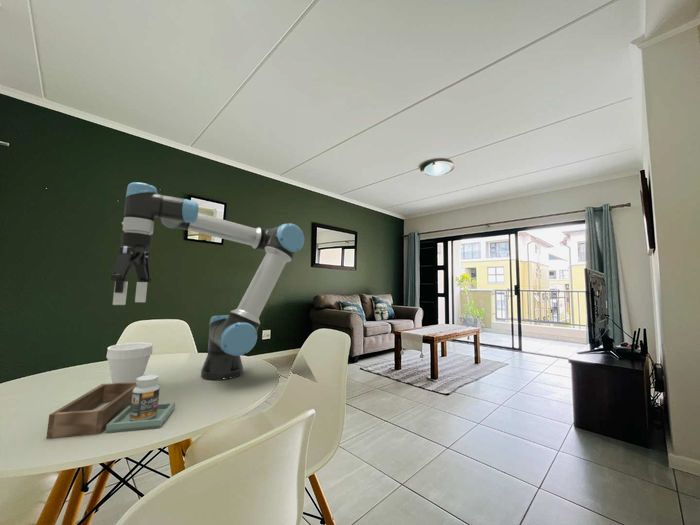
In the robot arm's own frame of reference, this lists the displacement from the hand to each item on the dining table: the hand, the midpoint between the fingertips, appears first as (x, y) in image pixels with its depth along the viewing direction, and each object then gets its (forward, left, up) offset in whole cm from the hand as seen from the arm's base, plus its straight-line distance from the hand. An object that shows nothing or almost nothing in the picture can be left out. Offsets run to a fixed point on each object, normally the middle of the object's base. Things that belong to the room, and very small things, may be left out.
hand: (130, 303), depth 84 cm
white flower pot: (+4, -14, -29) cm, 32 cm away
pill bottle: (-10, +13, -28) cm, 33 cm away
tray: (-10, +13, -29) cm, 33 cm away
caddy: (+1, +8, -29) cm, 30 cm away
